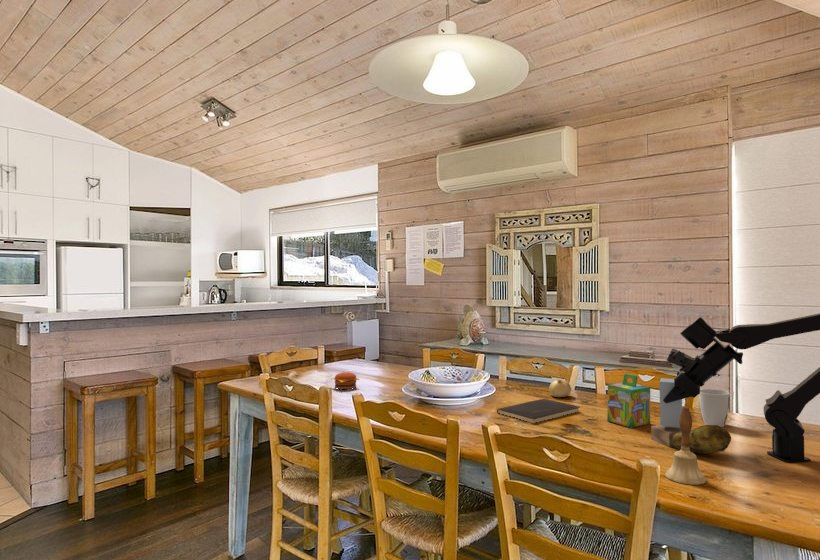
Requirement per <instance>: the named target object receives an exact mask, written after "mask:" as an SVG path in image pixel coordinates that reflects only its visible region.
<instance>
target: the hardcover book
mask: <svg viewBox="0 0 820 560" xmlns="http://www.w3.org/2000/svg"><path fill="white" fill-rule="evenodd" d="M580 408H581V406H580V405H579V406H578V405H574V404H571V403H566V402H561V401H557V400H552V399H547V398H541V399H540V398H539V399H535V400H532V401H527V402H522V403H518V404H517V403H516V404H513V405H507V406H503V407H500V408H497V409H496V414H497V413H500V414H499V415H502V414H504V415H503V416H505V415H507V416H506V417H509V416H511V417H510V418H512V417H515V418H514V419H516V418H518V419H517V420H519V419H521V420H520V421H523V420H524V421H523V422H526V421H527V423H530V424H536V422H537V423H540V421H541V422H544V420H545V421H547V420H548V419H549V420H551V419H552V418H553V419H556V418H560V417H564V416H568V415H572V414H575V412H576V413H579V412H580V410H579V409H580ZM571 413H572V414H571ZM567 414H568V415H567ZM563 415H564V416H563Z"/></svg>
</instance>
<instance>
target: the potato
mask: <svg viewBox="0 0 820 560" xmlns="http://www.w3.org/2000/svg"><path fill="white" fill-rule="evenodd" d="M689 440H690V447H689V448H690V452H692V453H694V454H701V455H702V454H703V455H704V454H711V453H717V452H718V453H720V452H721V453H722V452H725V450H727V449H728V447H729V445H730V443H731V441H732V436H731V434H730V432H728V431H727V430H726V429H725V428H724V427H720V426H717V425H705V424H704V425H700V426H698V427H696V428H694V429H691V432H690V436H689ZM681 442H682V433H681V432H679V433H676V434H674V435H673V438H672V444H673V445H674V446H675V447H674V448H676V449H677V450H679V451H680V450H681Z"/></svg>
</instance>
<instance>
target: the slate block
mask: <svg viewBox="0 0 820 560" xmlns="http://www.w3.org/2000/svg"><path fill="white" fill-rule="evenodd" d="M674 386H675V385H674V378H665V377H664V378H663V377H661V379H660V380H659V421H660V422H659V423H660V424H659V425H660V426H667V427H675V428H680V424H679V418H680V414H681V411H682V408H683V399H681V400H677V401H673V402H670V403H665V402H664V401H663V400H664V398H665V397H666V396H667V395H668V393H669V392H670V391H671V390H672V388H673V387H674Z"/></svg>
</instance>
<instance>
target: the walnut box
mask: <svg viewBox="0 0 820 560" xmlns="http://www.w3.org/2000/svg"><path fill="white" fill-rule="evenodd" d="M650 429H651V431H650V434H651V435H650V436H651V437H650V438H651V441H654V442H656V443H659V444H660V445H663V446H665V447H667V448H676V447H675V446H674V445H673V444H672V438H673V435H674V434H676V433H679V432H681V429H680V428H675V427H667V426H660V424H659V425H651V427H650Z"/></svg>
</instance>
